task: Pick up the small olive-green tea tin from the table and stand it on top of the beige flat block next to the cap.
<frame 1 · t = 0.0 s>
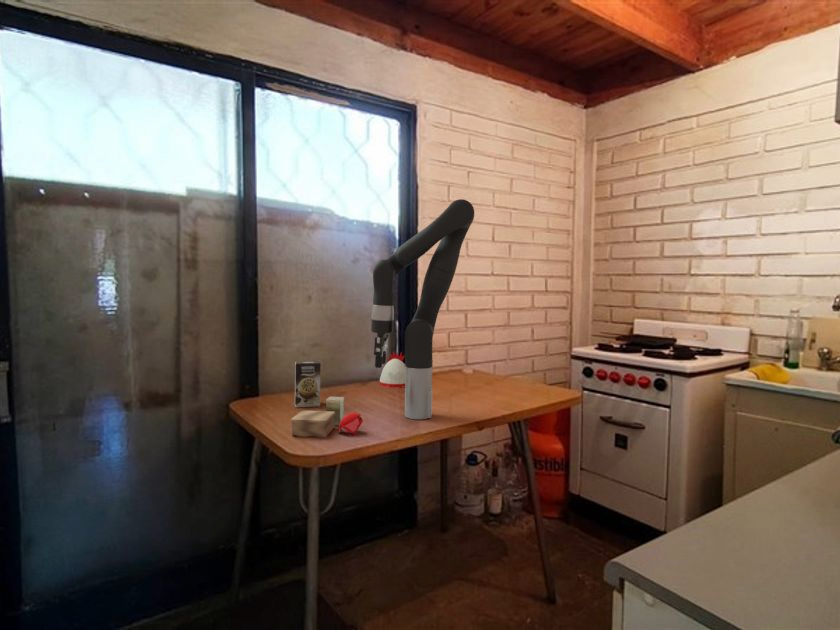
hand: (380, 365, 170), 17 cm above the table, tool pointing down, fingers open, 8 cm apart
cap: (350, 433, 150), on the table
tea tin: (334, 423, 160), on the table
coffee box: (307, 405, 183), on the table
kitchen timer: (395, 385, 224), on the table
beige flat block: (313, 431, 150), on the table
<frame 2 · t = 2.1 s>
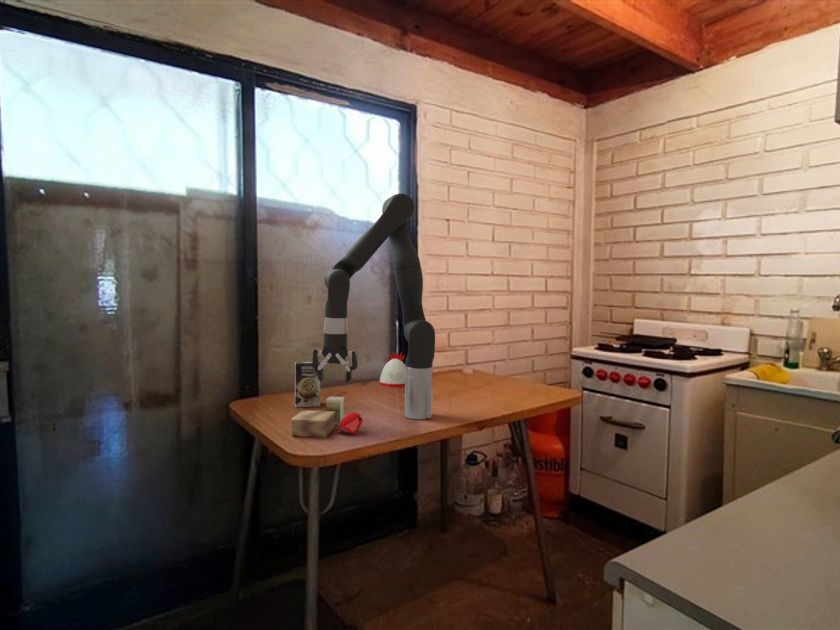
hand: (334, 381, 159), 13 cm above the table, tool pointing down, fingers open, 8 cm apart
nothing on the table moved.
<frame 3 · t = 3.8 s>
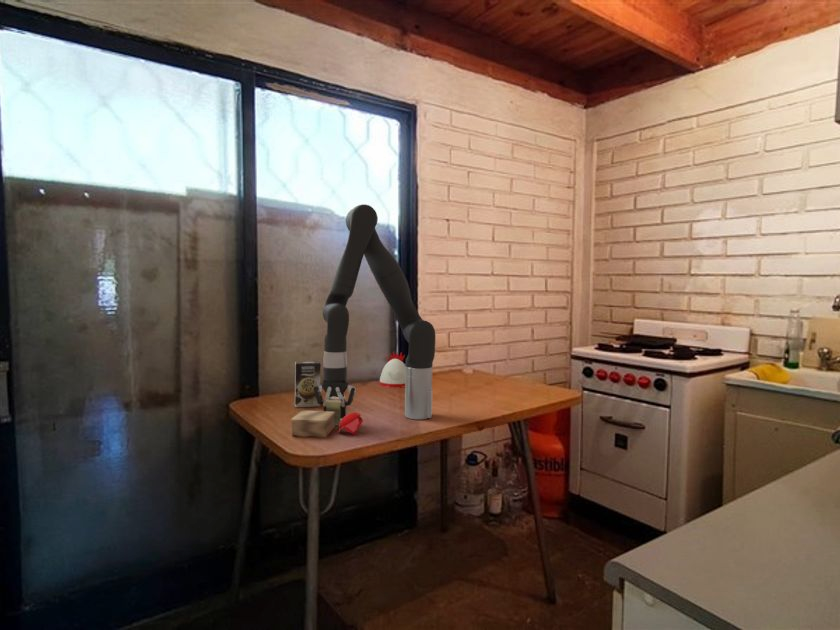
hand: (334, 417, 160), 2 cm above the table, tool pointing down, fingers closed on tea tin, 4 cm apart
tea tin: (334, 423, 160), on the table, touching gripper
everything else where it was.
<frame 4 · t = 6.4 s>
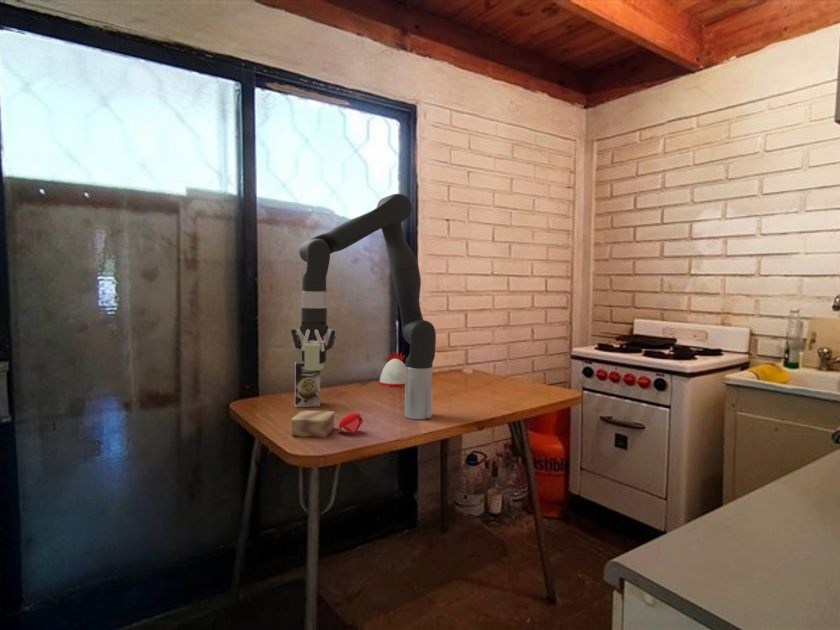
hand: (314, 362, 149), 21 cm above the table, tool pointing down, fingers closed on tea tin, 4 cm apart
tea tin: (314, 369, 149), point 19 cm above the table, touching gripper
everything else where it was.
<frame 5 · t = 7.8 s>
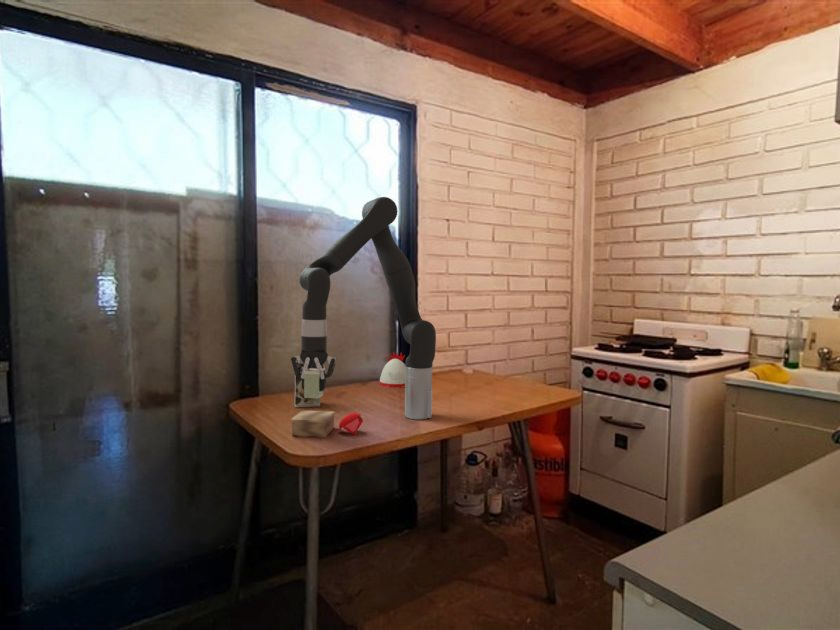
hand: (313, 390, 150), 13 cm above the table, tool pointing down, fingers closed on tea tin, 4 cm apart
tea tin: (313, 396, 150), point 11 cm above the table, touching gripper
everything else where it was.
when the fingers open (8 cm above the table, at t = 9.1 s): tea tin drops 1 cm, resting on beige flat block.
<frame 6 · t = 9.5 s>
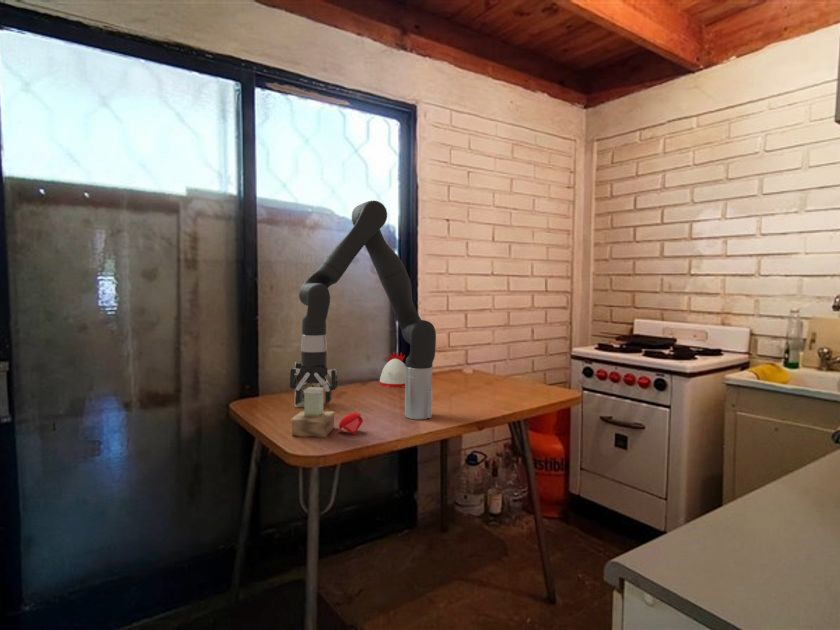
hand: (313, 402, 150), 9 cm above the table, tool pointing down, fingers open, 8 cm apart
tea tin: (313, 415, 150), point 5 cm above the table, touching beige flat block
everything else where it was.
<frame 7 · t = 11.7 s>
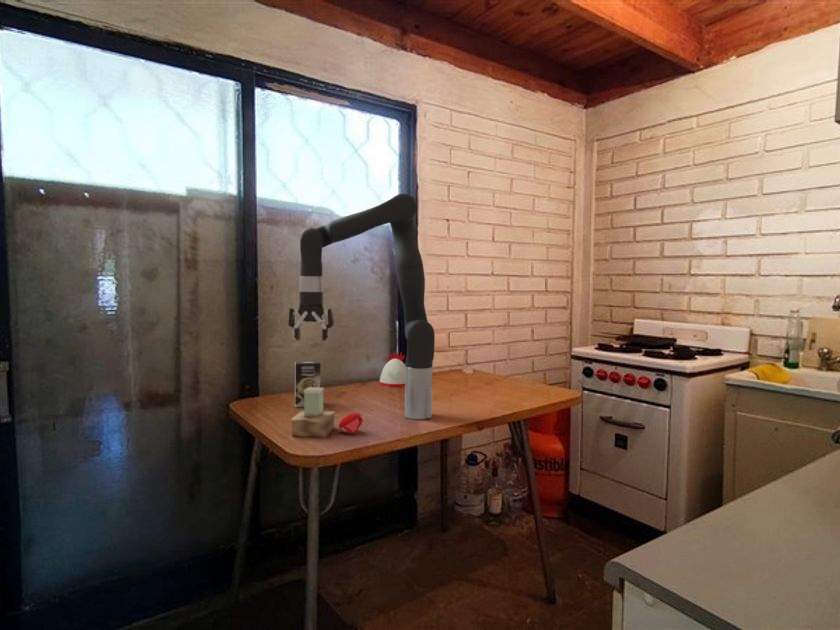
hand: (311, 340, 161), 26 cm above the table, tool pointing down, fingers open, 8 cm apart
nothing on the table moved.
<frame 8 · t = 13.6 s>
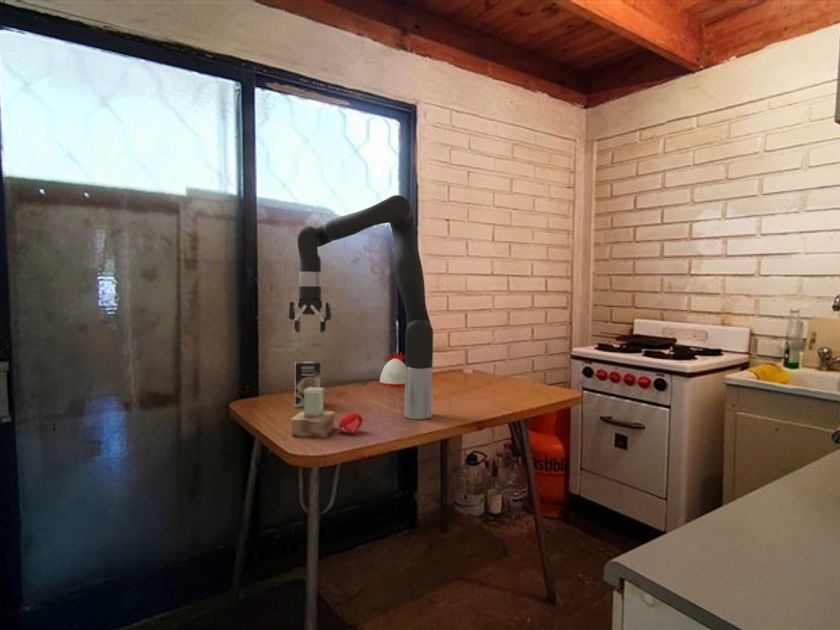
hand: (310, 332, 171), 28 cm above the table, tool pointing down, fingers open, 8 cm apart
nothing on the table moved.
at the end: tea tin inside the target area on the beige flat block (0.0 cm from its centre), point 5.0 cm above the beige flat block's base; tea tin tilted 0°; the gripper is holding nothing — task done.
